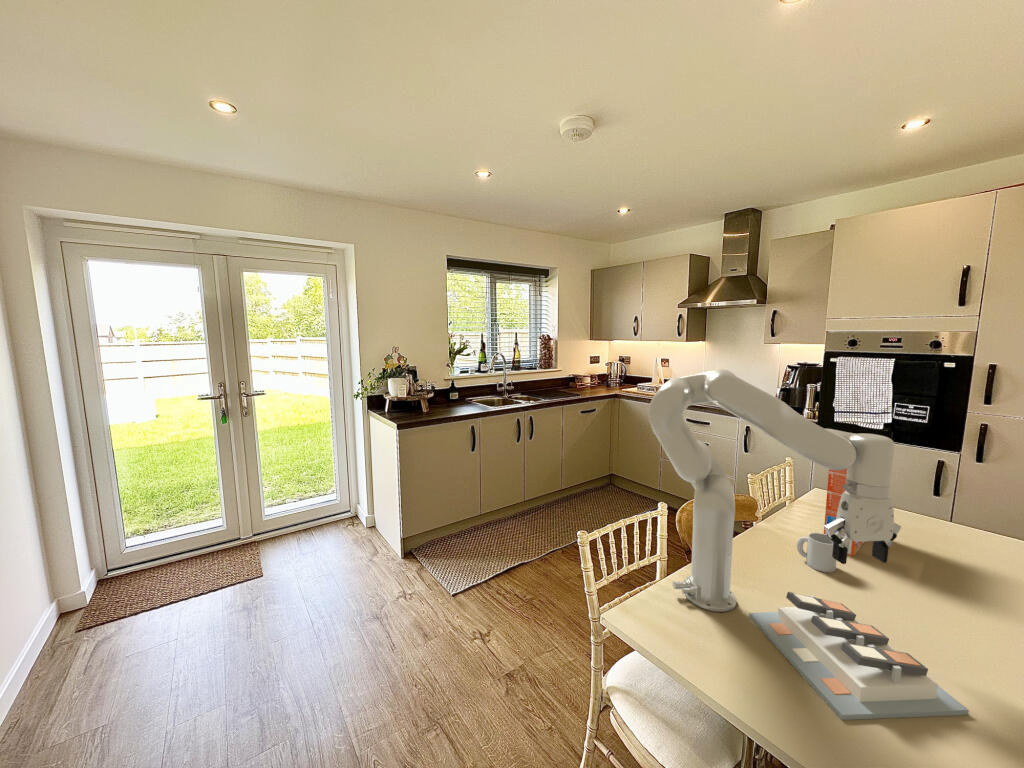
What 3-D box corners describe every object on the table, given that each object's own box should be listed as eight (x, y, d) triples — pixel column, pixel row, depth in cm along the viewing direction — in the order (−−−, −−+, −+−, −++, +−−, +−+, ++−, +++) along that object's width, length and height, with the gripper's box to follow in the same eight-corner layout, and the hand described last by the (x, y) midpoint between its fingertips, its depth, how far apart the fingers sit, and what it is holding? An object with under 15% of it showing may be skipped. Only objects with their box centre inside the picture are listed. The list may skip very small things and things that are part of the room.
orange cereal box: (853, 556, 130) (862, 464, 127) (822, 546, 137) (829, 458, 133) (869, 533, 145) (877, 450, 142) (841, 525, 151) (847, 446, 148)
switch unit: (841, 719, 76) (844, 684, 75) (749, 616, 103) (750, 589, 103) (968, 714, 76) (972, 679, 75) (842, 613, 104) (845, 586, 103)
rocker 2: (825, 634, 87) (827, 627, 87) (810, 621, 91) (812, 614, 91) (887, 645, 88) (889, 638, 87) (870, 631, 92) (872, 625, 91)
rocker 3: (858, 664, 79) (860, 657, 79) (840, 649, 83) (843, 641, 83) (925, 676, 80) (928, 668, 79) (905, 659, 84) (908, 652, 83)
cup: (833, 576, 120) (835, 547, 119) (792, 562, 127) (794, 535, 126) (838, 566, 125) (840, 538, 124) (798, 554, 132) (800, 527, 131)
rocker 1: (798, 608, 95) (800, 601, 95) (786, 597, 99) (788, 591, 98) (854, 620, 96) (856, 614, 95) (840, 609, 100) (842, 603, 99)
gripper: (844, 496, 89) (836, 570, 91) (920, 494, 90) (911, 568, 92) (816, 483, 97) (810, 552, 99) (887, 482, 97) (879, 550, 100)
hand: (859, 560), depth 95 cm, fingers open, 9 cm apart
